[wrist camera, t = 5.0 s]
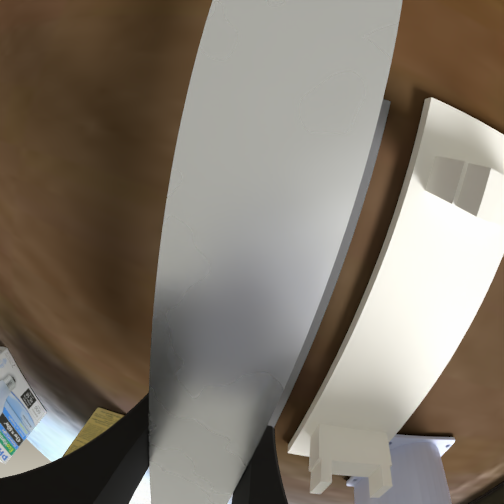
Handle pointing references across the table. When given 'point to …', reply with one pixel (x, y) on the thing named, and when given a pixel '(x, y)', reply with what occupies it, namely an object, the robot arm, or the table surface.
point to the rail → (255, 222)
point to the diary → (492, 496)
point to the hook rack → (412, 299)
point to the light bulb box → (15, 407)
